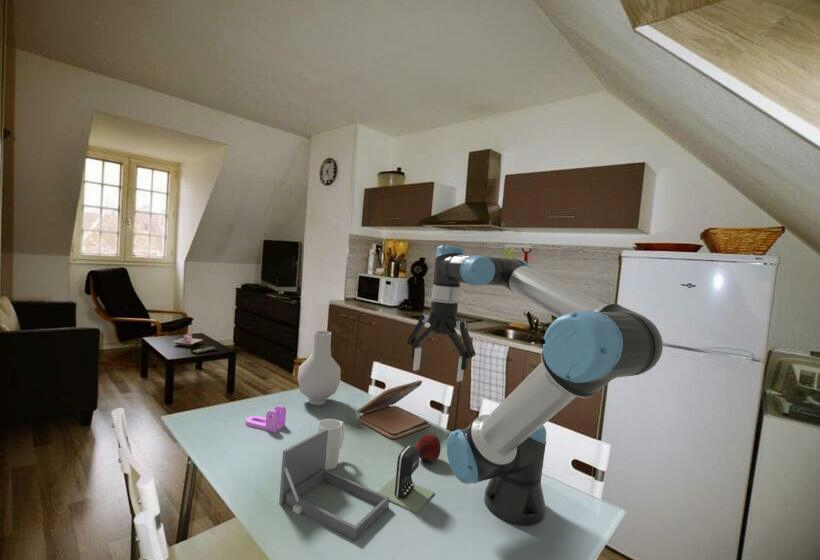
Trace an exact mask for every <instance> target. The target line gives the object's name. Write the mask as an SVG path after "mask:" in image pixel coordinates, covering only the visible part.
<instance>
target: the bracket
mask: <svg viewBox="0 0 820 560" xmlns="http://www.w3.org/2000/svg"><path fill="white" fill-rule="evenodd" d="M286 415H287V408H286V407H285V406H284V405H283V404H280V405H278V406H276V407H275V408H274V409H271V410H268V411H267V412H266V417H265V416H260V415H251V416H250V415H249V416H248V417H246V418H245V425H246V426H248V427H250V428H251V427H252V428H257V429H260V430H264V431H267V432H271V433H276V432H278V431H279V430H281V429H282V428H284V427H285V426H286V418H287V416H286Z"/></svg>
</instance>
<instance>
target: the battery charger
mask: <svg viewBox="0 0 820 560" xmlns="http://www.w3.org/2000/svg"><path fill="white" fill-rule="evenodd" d="M396 463H397V464H396V475H395V476H396V485H395V496H396V497H400V498H406V497H407V496H408V495H409V494H410V493H411V491H412V490H413V488H414V485H413V483H414V482H413V479H412V478H413V477H412V475H413V474H414V472H415V471H416V470H417V469H418V468H419V464H420V457H419V450H418V449H417V448H416V447H413V446H411V445H406V446H404V448H403V449H402V450H401V451H400V452H399V454H398V457H397V462H396Z"/></svg>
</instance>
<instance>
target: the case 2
mask: <svg viewBox="0 0 820 560" xmlns="http://www.w3.org/2000/svg"><path fill="white" fill-rule="evenodd" d="M422 383H423V380H421V379H420V380H417V381H412V382H409V383H405V384H402V385H398V386H395V387H391V388H388V389H386V390H384V391H382V392H381V393H379V394H378V395H376V396H375V397H374V398H372V399H370V401H368V402H367V403H365V404H364V405H363V406H361V407H360V408H358V410H356V413H357V414H361V415H359V416H358V417H357V421H358V422H360V423H362V424H363V425H366V426H367V427H369V428H370V429H372V430H375V431H376V432H378V433H380V434H381V435H383V436H384V437H387V438H389V439H392V440H396V439H400V438H402V437H406V436H408V435H410V434H411V435H412V434H413V433H416V432H419V431H421V430H424V429H426V428H429V427H430V423H429V422H428V421H427V420H426V419H424V418H421V417H420V416H417V414H414V413H412V412H410V411H408V410H405V409H404V408H402V407H400V406H397V405H396V403H398V402H400V401H401V400H402V399H404V398H405V397H407V396H408V395H409V394H410V393H412V392H414V390H416V389H418V388H419V387H420V386H421V385H422Z"/></svg>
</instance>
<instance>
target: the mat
mask: <svg viewBox="0 0 820 560" xmlns="http://www.w3.org/2000/svg"><path fill="white" fill-rule="evenodd" d="M395 485H396V475H395V476H394V477H393V478H392V479H390V480H389V481H388V482H387V483H386V484H384V485H383V486H382V487H381V488H380V489H379V490H378V491H377V492H378V493H380V494H382V495H384V496H387V497H389V503H392V504H394V505H397V506H399V507H401V508H403V509H406V510H408V511H410V512H412V513H414V514H418V513H419V512H420V511H421V509H422V508H423V507H424V506H425V505H426V504H427V503H428V501H430V500H431V498H432V497H433V495H434V494H435V491H433V490H430V489H428V488H426V487H423V486H420V485H419V484H416V483H414V482H413V485H414V488H413V490H412V491H411V493H410V494H409V495H408V496H407V497H406V498H400V497H396V496H395Z"/></svg>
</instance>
